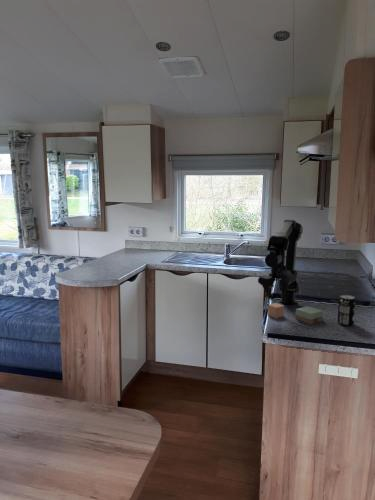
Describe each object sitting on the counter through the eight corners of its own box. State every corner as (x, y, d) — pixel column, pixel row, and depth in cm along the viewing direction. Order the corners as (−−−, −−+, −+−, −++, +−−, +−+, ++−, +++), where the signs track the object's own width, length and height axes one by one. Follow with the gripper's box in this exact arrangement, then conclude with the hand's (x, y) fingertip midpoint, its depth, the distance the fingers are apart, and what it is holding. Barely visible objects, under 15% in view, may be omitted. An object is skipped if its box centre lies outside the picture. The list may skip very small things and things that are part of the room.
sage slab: (306, 311, 176) (307, 306, 176) (322, 316, 170) (322, 310, 170) (295, 314, 172) (295, 309, 171) (310, 319, 165) (311, 314, 165)
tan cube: (275, 313, 180) (275, 302, 179) (283, 316, 176) (284, 305, 175) (267, 315, 177) (268, 304, 176) (275, 318, 173) (276, 307, 172)
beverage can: (349, 321, 170) (351, 294, 168) (356, 326, 163) (358, 298, 161) (334, 321, 170) (336, 294, 168) (341, 326, 163) (343, 299, 161)
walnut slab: (307, 316, 177) (307, 311, 176) (322, 321, 170) (322, 316, 170) (295, 320, 172) (296, 314, 172) (310, 325, 166) (311, 319, 165)
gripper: (276, 268, 161) (275, 305, 163) (306, 263, 171) (304, 297, 174) (257, 264, 170) (256, 298, 172) (286, 259, 180) (285, 292, 183)
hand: (276, 297), depth 175 cm, fingers open, 9 cm apart
